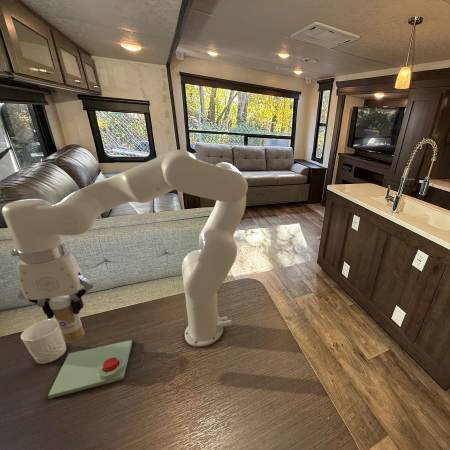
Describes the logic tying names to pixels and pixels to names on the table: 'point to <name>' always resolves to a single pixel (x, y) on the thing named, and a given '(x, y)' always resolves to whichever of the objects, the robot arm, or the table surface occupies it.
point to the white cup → (44, 341)
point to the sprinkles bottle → (66, 319)
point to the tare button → (110, 364)
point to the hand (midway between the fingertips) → (65, 312)
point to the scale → (90, 368)
